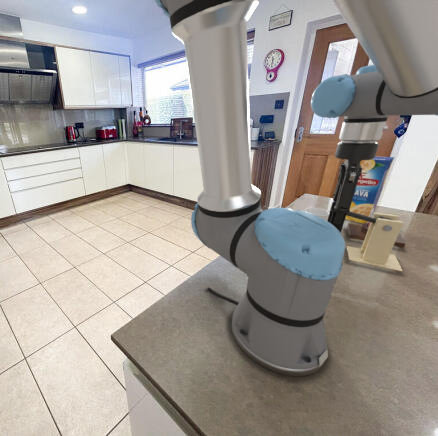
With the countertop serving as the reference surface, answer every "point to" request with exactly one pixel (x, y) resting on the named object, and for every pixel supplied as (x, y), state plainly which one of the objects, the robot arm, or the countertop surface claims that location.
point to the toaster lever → (363, 217)
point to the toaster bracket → (379, 243)
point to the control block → (361, 232)
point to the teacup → (318, 212)
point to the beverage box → (369, 186)
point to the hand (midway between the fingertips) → (333, 228)
